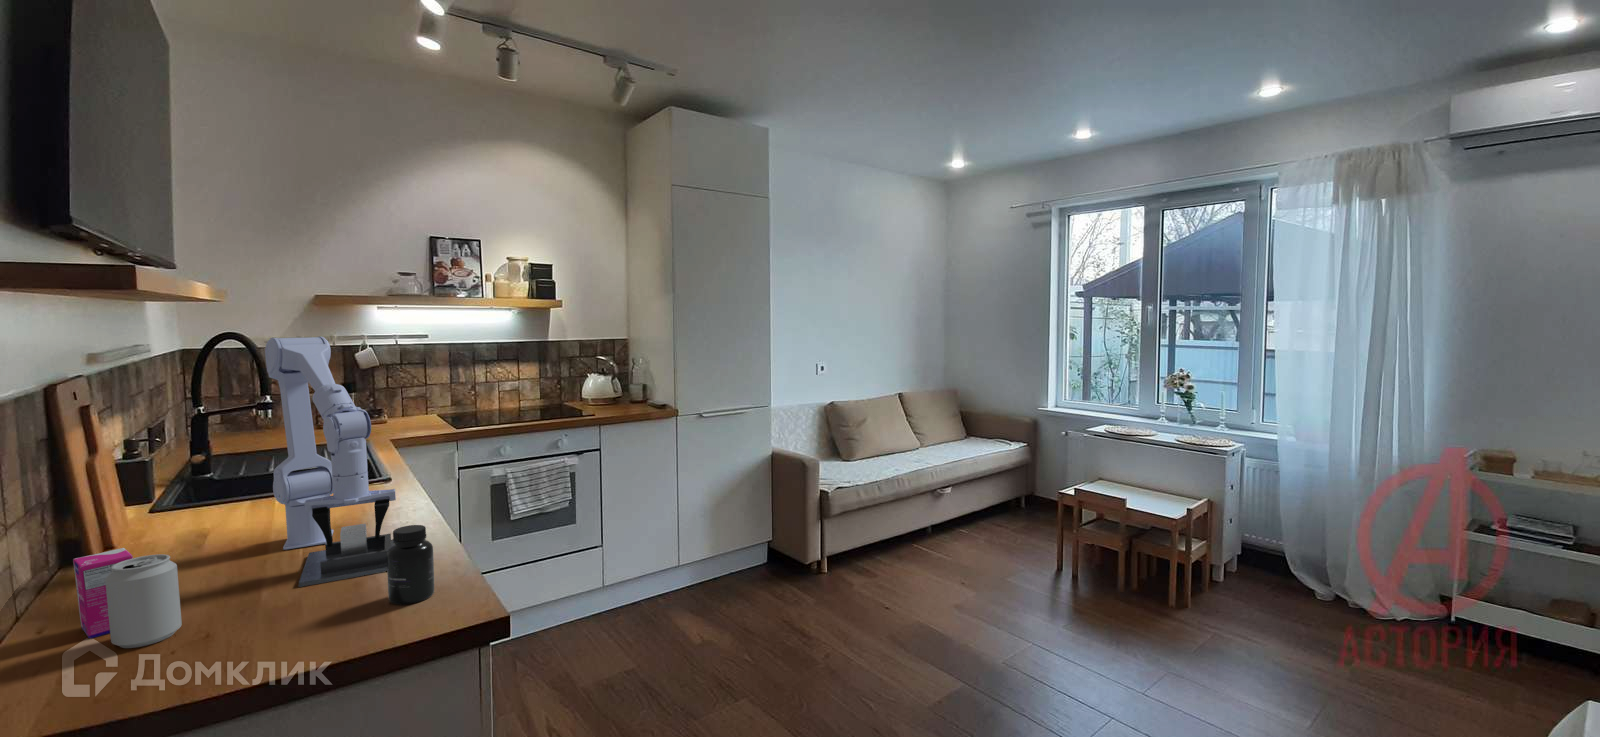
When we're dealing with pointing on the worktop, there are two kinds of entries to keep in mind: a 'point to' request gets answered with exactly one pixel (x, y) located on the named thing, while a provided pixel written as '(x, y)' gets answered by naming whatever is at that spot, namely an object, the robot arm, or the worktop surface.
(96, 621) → the supplement box
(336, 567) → the cradle
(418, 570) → the supplement bottle
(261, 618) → the worktop surface
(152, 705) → the worktop surface
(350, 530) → the block
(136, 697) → the worktop surface
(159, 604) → the can
